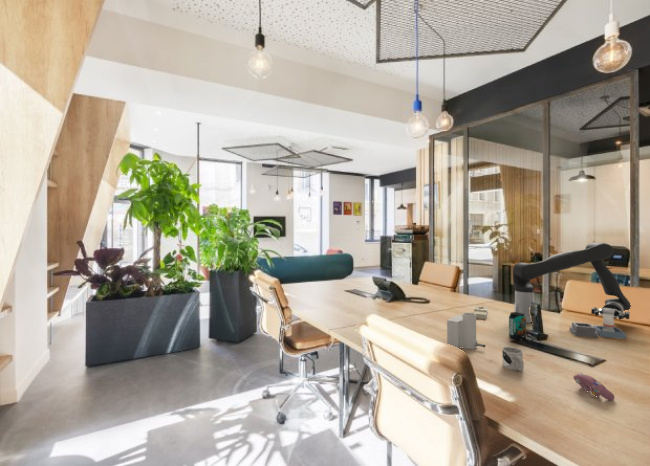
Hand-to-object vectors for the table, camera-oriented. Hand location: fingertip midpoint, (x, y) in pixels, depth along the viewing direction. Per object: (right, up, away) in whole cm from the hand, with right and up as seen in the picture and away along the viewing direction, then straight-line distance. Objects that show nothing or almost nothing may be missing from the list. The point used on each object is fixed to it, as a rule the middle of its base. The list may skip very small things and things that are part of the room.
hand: (608, 315), depth 156 cm
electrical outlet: (-43, -11, +40) cm, 60 cm away
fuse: (+2, -9, +1) cm, 9 cm away
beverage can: (-46, -11, -2) cm, 47 cm away
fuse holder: (-10, -10, +3) cm, 14 cm away
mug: (-67, -11, -35) cm, 76 cm away
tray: (+2, -10, +1) cm, 10 cm away
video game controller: (-53, -11, -54) cm, 76 cm away
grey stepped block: (-74, -11, -12) cm, 76 cm away
